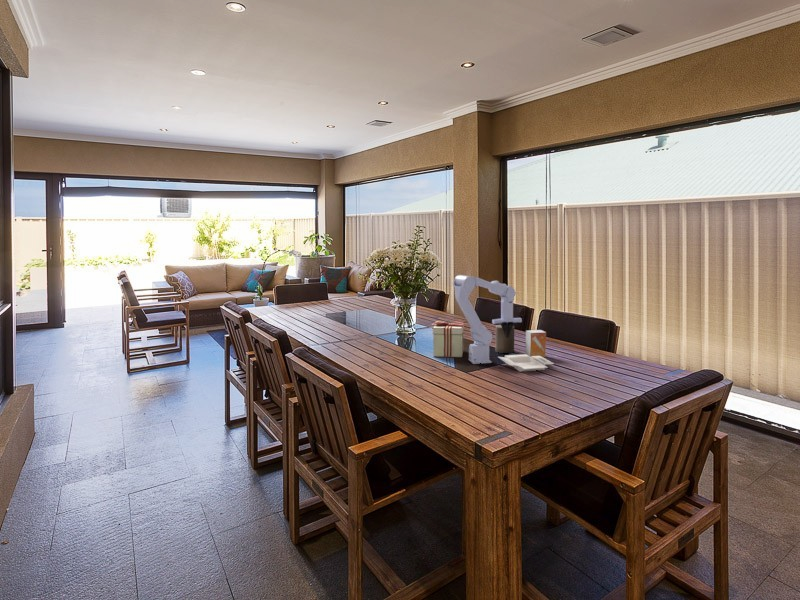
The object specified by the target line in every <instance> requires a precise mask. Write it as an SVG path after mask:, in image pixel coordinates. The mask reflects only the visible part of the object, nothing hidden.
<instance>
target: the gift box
mask: <svg viewBox="0 0 800 600" xmlns="http://www.w3.org/2000/svg"><path fill="white" fill-rule="evenodd" d="M430 325H431V326H433V327H432V336H433V345H432V346H433V357H436V358H437V357H438V358H439V357H440V358H441V357H442V358H462V357H463V353H464V330H465V329H464V327H465V326H464V325H465V322H463V321H459V320H456V321H452V322H447V321H444V320H436V321H434V323H431V324H430Z"/></svg>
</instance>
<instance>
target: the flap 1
mask: <svg viewBox="0 0 800 600" xmlns="http://www.w3.org/2000/svg"><path fill="white" fill-rule="evenodd" d="M497 358H498V359H500V361H503V362H504V363H505V364H506V365H508V366H510V367H512V366H518V365H517V364H516V363H514V362H513V361H511V360H510V359H508V358H507V357H505V356H504V357H503V356H497Z"/></svg>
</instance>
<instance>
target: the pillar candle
mask: <svg viewBox="0 0 800 600" xmlns="http://www.w3.org/2000/svg"><path fill="white" fill-rule="evenodd" d="M494 342H495V347H494V348H495V349H494V350H495V352H496V353H498V352H499V354H503V353H509V354H513V352H514V353H515V326H513V327H512V329H511V332H510V335H509V338H506V337H505V335H504V331H503V328H502V326H501V324H495V341H494Z"/></svg>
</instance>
